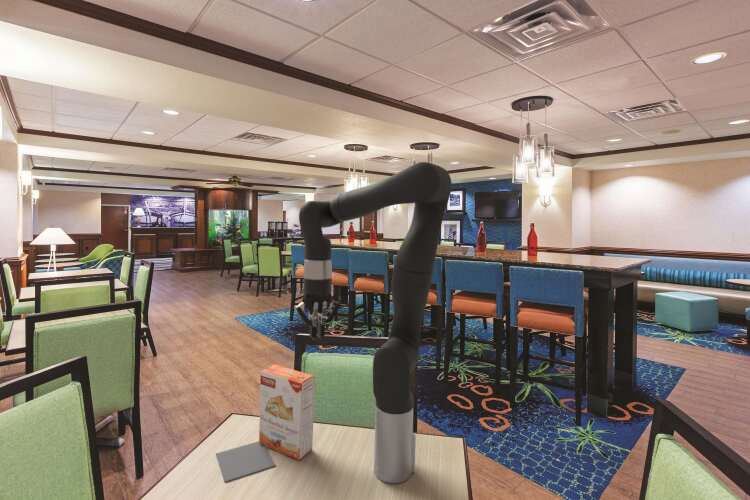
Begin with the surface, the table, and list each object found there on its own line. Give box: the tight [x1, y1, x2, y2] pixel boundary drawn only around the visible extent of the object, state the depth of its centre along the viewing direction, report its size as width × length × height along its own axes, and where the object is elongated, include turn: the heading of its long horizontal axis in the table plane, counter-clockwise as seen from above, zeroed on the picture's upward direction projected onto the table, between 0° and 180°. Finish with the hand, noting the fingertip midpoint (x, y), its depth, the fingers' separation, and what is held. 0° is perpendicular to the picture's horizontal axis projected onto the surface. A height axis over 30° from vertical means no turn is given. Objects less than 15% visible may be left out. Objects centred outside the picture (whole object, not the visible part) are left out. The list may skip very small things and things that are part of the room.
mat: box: [215, 440, 276, 483], centre depth 99 cm, size 12×12×1 cm
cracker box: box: [258, 363, 316, 461], centre depth 103 cm, size 14×6×21 cm, turn 62°
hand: (317, 338), depth 106 cm, fingers closed
